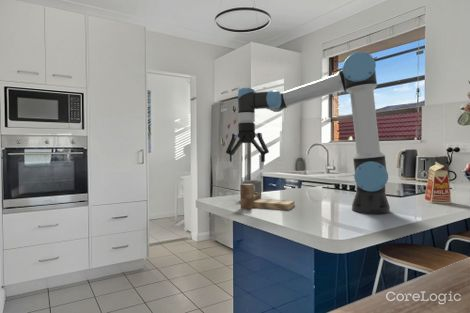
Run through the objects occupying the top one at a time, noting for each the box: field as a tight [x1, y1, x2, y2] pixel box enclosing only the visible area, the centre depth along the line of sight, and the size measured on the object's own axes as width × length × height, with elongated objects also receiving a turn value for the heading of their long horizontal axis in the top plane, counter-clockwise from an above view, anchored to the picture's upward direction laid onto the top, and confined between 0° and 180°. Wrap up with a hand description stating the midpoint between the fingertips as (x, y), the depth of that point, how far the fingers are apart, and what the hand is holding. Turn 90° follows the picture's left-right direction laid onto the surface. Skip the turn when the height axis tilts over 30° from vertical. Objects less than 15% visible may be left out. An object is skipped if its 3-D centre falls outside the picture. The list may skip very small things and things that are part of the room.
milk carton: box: [423, 161, 452, 205], centre depth 161 cm, size 9×9×20 cm
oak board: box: [254, 198, 296, 211], centre depth 152 cm, size 22×10×3 cm, turn 66°
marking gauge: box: [239, 183, 260, 210], centre depth 153 cm, size 4×16×11 cm, turn 156°
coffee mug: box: [242, 179, 262, 199], centre depth 170 cm, size 13×10×10 cm
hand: (247, 169), depth 148 cm, fingers open, 13 cm apart
